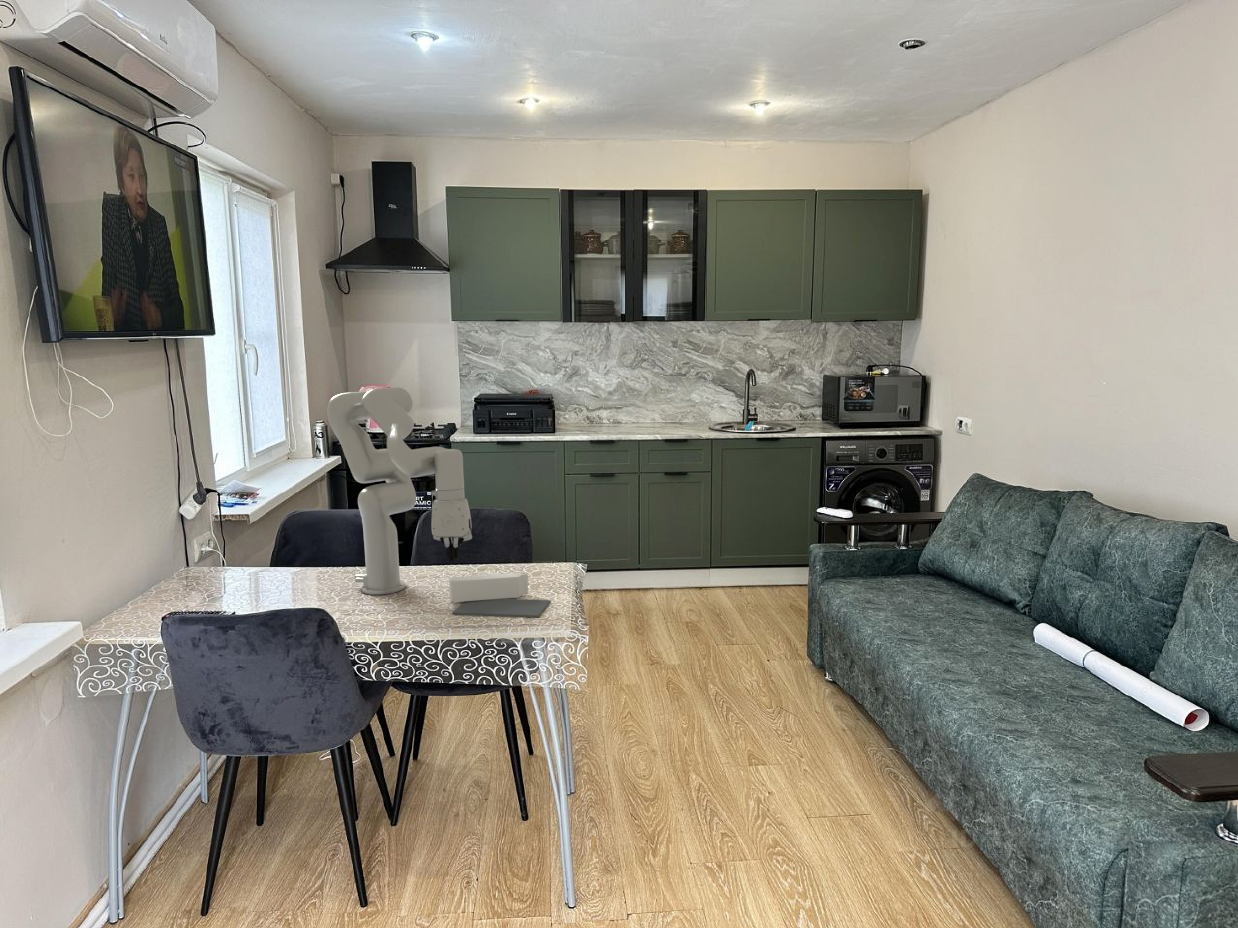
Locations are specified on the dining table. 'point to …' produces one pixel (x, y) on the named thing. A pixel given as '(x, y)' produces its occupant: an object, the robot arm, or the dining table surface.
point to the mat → (503, 608)
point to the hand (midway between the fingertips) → (453, 560)
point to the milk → (488, 587)
